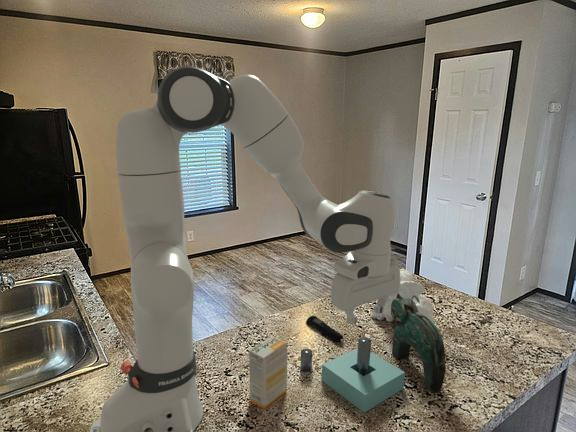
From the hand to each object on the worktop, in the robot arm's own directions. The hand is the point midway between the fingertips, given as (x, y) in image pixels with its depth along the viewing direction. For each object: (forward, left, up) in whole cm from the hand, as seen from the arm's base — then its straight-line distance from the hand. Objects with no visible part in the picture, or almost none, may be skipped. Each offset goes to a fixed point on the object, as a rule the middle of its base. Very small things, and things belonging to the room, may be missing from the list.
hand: (365, 317), depth 92 cm
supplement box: (-21, +10, -18) cm, 29 cm away
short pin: (-7, +13, -18) cm, 23 cm away
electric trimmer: (+10, +24, -19) cm, 32 cm away
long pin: (0, 0, -18) cm, 18 cm away
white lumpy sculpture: (+36, +16, -18) cm, 44 cm away
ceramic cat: (+16, -4, -18) cm, 25 cm away
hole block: (0, 0, -18) cm, 18 cm away
